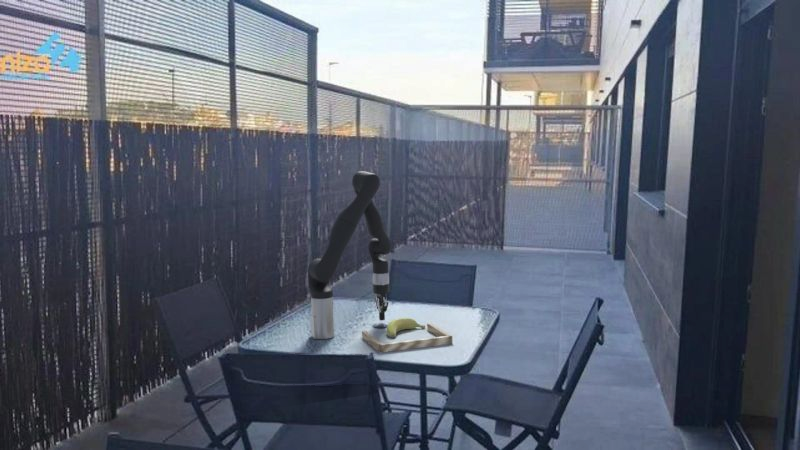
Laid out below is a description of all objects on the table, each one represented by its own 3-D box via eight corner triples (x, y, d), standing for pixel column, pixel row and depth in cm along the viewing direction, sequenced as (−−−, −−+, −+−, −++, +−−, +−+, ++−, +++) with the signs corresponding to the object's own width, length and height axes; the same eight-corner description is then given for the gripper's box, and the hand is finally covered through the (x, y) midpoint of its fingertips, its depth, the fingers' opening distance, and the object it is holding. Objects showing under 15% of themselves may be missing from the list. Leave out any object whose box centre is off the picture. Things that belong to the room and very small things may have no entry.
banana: (380, 315, 300) (421, 315, 309) (378, 327, 302) (418, 326, 310) (392, 330, 288) (434, 330, 297) (390, 342, 290) (432, 341, 299)
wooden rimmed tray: (379, 352, 270) (379, 345, 269) (362, 337, 292) (361, 330, 291) (452, 343, 280) (452, 336, 280) (430, 329, 302) (430, 323, 302)
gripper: (368, 280, 318) (369, 317, 320) (377, 285, 306) (378, 324, 308) (384, 279, 321) (385, 316, 323) (393, 284, 309) (394, 322, 311)
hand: (382, 320), depth 315 cm, fingers closed
